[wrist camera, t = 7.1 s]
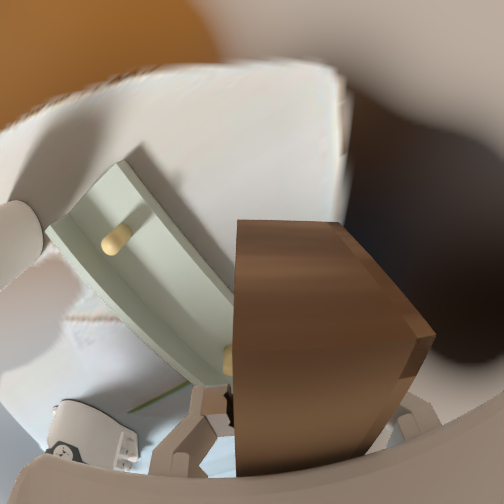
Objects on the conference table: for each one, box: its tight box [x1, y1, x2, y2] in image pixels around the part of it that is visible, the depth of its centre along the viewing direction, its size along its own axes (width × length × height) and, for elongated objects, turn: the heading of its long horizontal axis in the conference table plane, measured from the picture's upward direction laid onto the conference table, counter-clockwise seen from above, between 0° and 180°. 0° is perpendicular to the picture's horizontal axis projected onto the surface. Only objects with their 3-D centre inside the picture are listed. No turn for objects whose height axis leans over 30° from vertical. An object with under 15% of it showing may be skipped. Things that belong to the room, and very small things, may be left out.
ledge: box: [45, 160, 234, 394], centre depth 26 cm, size 26×8×5 cm, turn 34°
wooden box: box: [232, 220, 436, 477], centre depth 10 cm, size 12×4×7 cm, turn 178°
